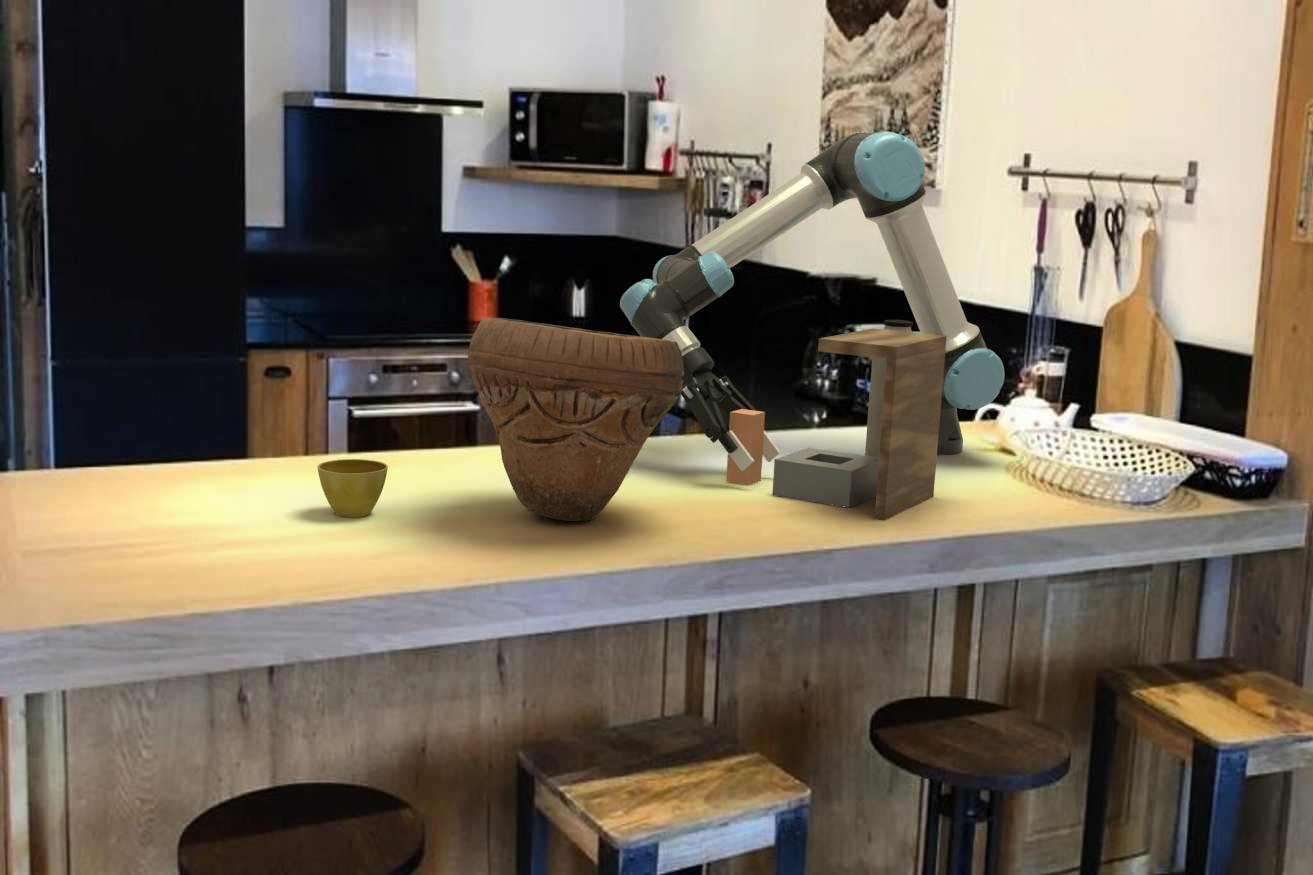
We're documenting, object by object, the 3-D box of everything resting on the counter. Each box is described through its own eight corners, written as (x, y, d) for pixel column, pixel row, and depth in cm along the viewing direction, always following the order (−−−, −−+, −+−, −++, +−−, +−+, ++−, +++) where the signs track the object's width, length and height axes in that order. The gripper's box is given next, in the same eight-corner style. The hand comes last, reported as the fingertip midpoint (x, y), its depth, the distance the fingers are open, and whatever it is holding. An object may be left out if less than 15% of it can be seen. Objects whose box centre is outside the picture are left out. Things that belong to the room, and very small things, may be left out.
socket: (772, 495, 243) (774, 459, 242) (807, 481, 255) (809, 447, 254) (848, 507, 236) (851, 471, 235) (881, 493, 248) (883, 458, 247)
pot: (721, 521, 224) (732, 323, 218) (569, 554, 201) (577, 334, 195) (573, 483, 245) (579, 302, 240) (420, 509, 222) (424, 310, 217)
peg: (726, 481, 252) (730, 412, 250) (738, 477, 256) (741, 408, 254) (749, 485, 250) (753, 415, 248) (760, 481, 254) (764, 412, 251)
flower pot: (327, 523, 211) (328, 474, 210) (309, 507, 220) (309, 460, 219) (396, 518, 216) (396, 470, 214) (375, 503, 225) (376, 457, 223)
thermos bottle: (862, 472, 265) (873, 316, 259) (907, 475, 264) (919, 319, 259) (864, 482, 257) (876, 321, 252) (910, 485, 256) (923, 323, 251)
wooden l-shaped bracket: (807, 507, 235) (818, 338, 230) (861, 484, 254) (872, 328, 249) (884, 520, 229) (897, 346, 224) (933, 496, 248) (946, 336, 243)
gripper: (700, 366, 267) (774, 464, 262) (637, 378, 248) (716, 485, 243) (728, 340, 263) (804, 439, 258) (666, 350, 244) (746, 457, 239)
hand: (761, 461), depth 251 cm, fingers open, 9 cm apart
